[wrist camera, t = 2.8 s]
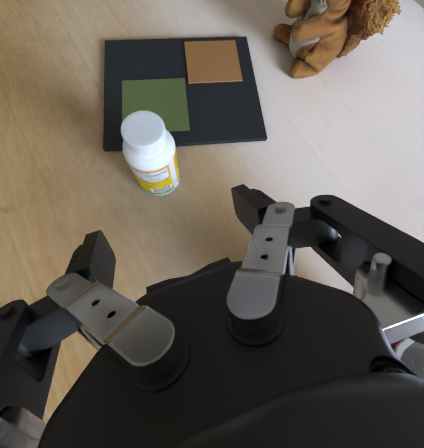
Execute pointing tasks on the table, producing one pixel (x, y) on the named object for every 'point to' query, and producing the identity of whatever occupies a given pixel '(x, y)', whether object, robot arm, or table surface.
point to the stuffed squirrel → (330, 29)
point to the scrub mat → (183, 89)
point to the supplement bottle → (150, 152)
